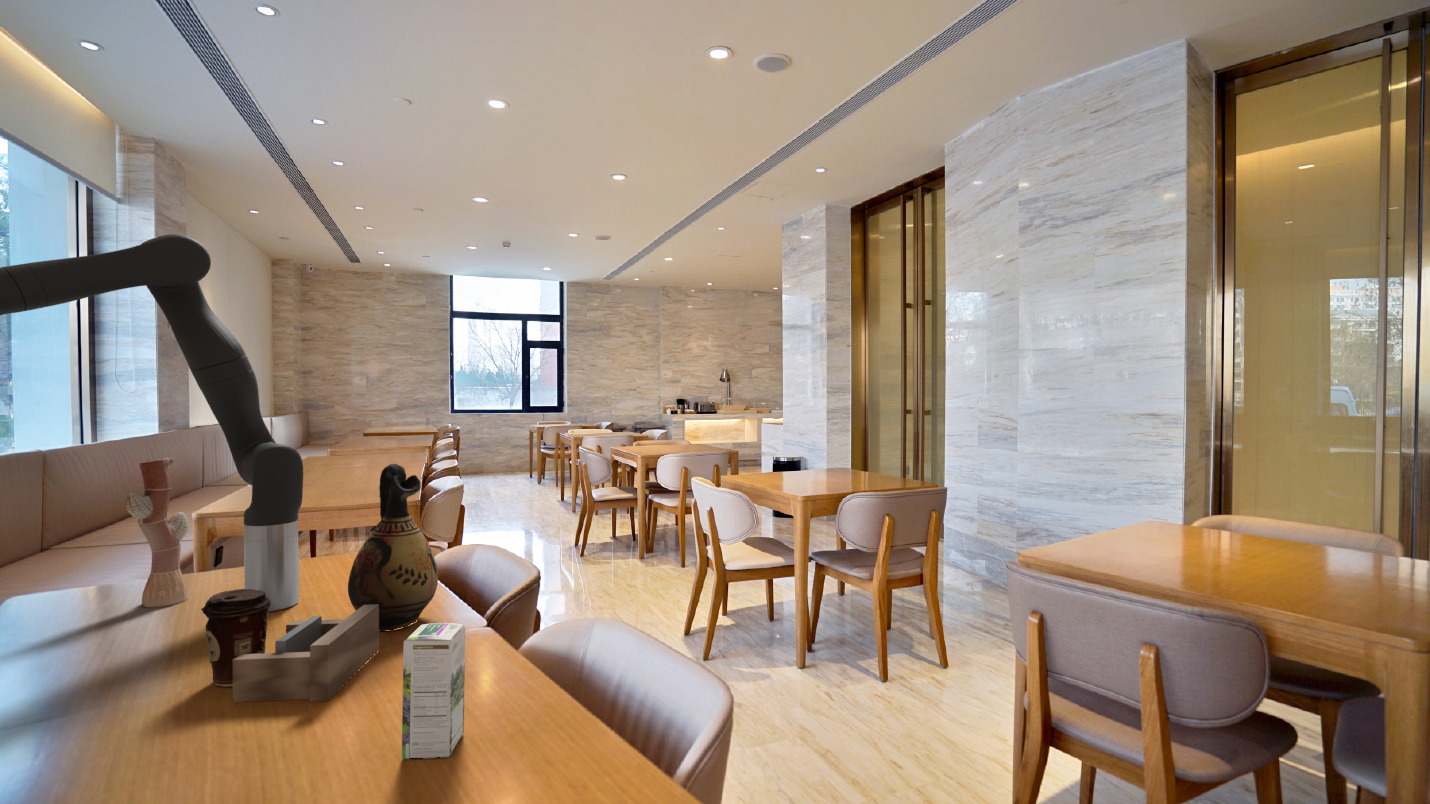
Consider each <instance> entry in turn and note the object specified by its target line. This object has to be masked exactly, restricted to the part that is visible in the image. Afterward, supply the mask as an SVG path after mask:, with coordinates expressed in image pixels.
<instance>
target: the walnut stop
mask: <svg viewBox="0 0 1430 804" xmlns="http://www.w3.org/2000/svg"><path fill="white" fill-rule="evenodd" d="M306 620H307V619H305V620H291V621H290V622H288V623H287V624H286V625H285V626H286V627H285V632H286V633H285V634H287V633H288V632H290V631H291V630H293V629H294V628H296V627H297V626H299V625H300V624H302V623H303V622H305V621H306ZM378 650H379V651H380V631H379V604H376V605H363V606H362V607H360V608H359V609H358V610H355V611H354V612H353V613H351V614H349V615H348V616H347V617H345V618H343V619H340V618H337V619H322V637H321V638H319V639H318V640H317V641H315V642H314V643H313V644H312V645H310V652H289V653H275V652H270V653H268V652H267V653H266V652H265V653H261V654H241V655H239V656H238V657H236V658H235V659H233V686H232V703H239V702H240V703H241V702H262V701H263V702H264V701H267V702H269V701H289V700H292V701H293V700H308V699H309V700H310V701H309V702H310V703H314V702H315V703H317V702H329V701H330V700H331V699H332V698H333V697H334V696H335V695H337V694H338V692H339V691H340V690H341V689H342V688H344V686H345V685H346V684H347V683H348V682H349V681H350V680H351V679H352V678H353V677H354V676H355V675H356V674H357V673H358V670H359V669H361V667H362V666H363V665H365V663H366V662H367V661H368V660H370V658H372V657H373V656H374V654H376V653H377V651H378ZM377 654H378V653H377ZM377 654H376V655H377ZM374 657H375V656H374ZM374 657H373V658H374ZM373 658H372V659H373ZM370 661H371V660H370ZM365 666H366V665H365ZM361 670H362V669H361ZM355 673H356V674H355ZM354 674H355V675H354ZM351 677H352V678H351ZM350 678H351V679H350ZM347 681H348V682H347ZM346 682H347V683H346ZM343 685H344V686H343ZM340 688H341V689H340ZM339 689H340V690H339Z"/></svg>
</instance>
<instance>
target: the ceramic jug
mask: <svg viewBox="0 0 1430 804" xmlns="http://www.w3.org/2000/svg"><path fill="white" fill-rule="evenodd" d="M380 473H381V474H380V476H379V477H380V478H379V487H378V489H379V498H380V499H379V502H380V503H379V505H380V506H379V507H380V508H379V514H380V521H379V522H378V523H377V525H375V528H374V529H373V530H372V532H370V533H369V535H368V536H367V539H366V540H365V541H364V543H362V546H361V547H360V549H359V550H358V553H357V554H356V556H355V558H354V560H353V562H352V566H351V569H350V572H349V576H348V583H347V593H348V598H349V601H350V603H351V606H352V607H353V609H354V610H355V611H356V610H358V609H359V608H360V607H362V606H363V605H376V604H379V630H394V629H397V628H401V627H405V628H407V627H406V626H408V625H410V624H411V623H414V622H416V620H417V619H418V620H419V617H420V616H421V614H422V612H423V611H424V610H425V609H426V607H427V606H428V605H429V604H430V603H431V601H432V600H433V598H434V596H435V593H436V591H437V587H438V582H439V571H438V564H437V561H436V558H435V554H434V552H433V549H432V547H431V545H430V543H429V541H428V540H427V538H426V537H425V535H424V533H423V531H422V530H421V528H420V527H419V526H418V525H417V523H416V522H415V521H414V519H413V518H412V515H411V514H410V513H409V511H408V509H409V508H408V503H407V502H408V498H409V497H411V496H415V494H417V493H418V492H420V490H421V481H420V479H419V477H418V476H417V475H416V474H412V475H410V476H408V477H407V474H406V470H405V468H404V466H403V465H399V464H398V463H390V464H388V465H387V466H384V468H383V469H382V471H381V472H380ZM408 627H409V626H408Z"/></svg>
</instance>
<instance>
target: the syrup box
mask: <svg viewBox="0 0 1430 804" xmlns="http://www.w3.org/2000/svg"><path fill="white" fill-rule="evenodd" d="M402 651H403V653H402V654H403V656H402V657H403V660H402V662H403V663H402V669H403V670H402V710H401V711H402V715H401V716H402V718H401V719H402V720H401V721H402V724H401V725H402V726H401V728H402V729H401V734H402V735H401V758H402V760H411V759H410V758H423V759H437V758H438V757H440V758H450V757H451V755H452V754H453V752H454V751H455V749H456V747H457V745H458V744H457V743H459V742H460V740H461V739H462V737H463V735H464V733H465V730H464V729H465V728H464V727H465V685H466V684H465V682H466V681H465V680H466V679H465V678H466V677H465V675H466V674H465V673H466V671H465V670H466V667H465V666H466V662H465V661H466V660H465V659H466V654H465V653H466V625H465V624H463V623H462V624H461V623H452V622H435V623H434V622H431V623H425V624H424V623H423V624H420V626H418V627H417V628H416V629H415V630H414V632H412V633H411V634H410V635H409V636H408V637H407V638H406V639H404V641H403V650H402ZM436 757H437V758H436Z"/></svg>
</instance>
